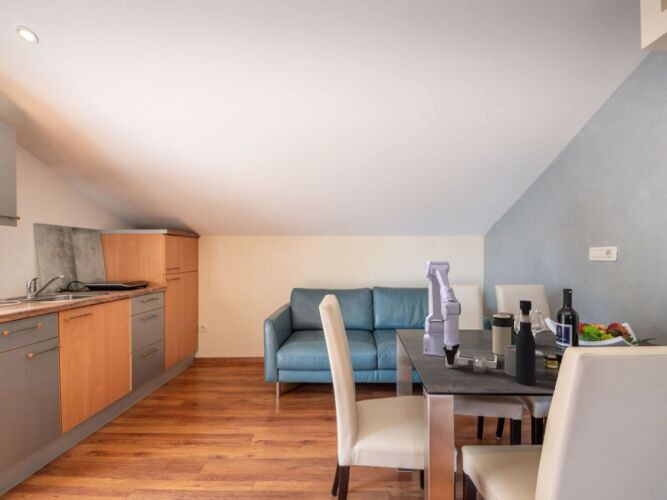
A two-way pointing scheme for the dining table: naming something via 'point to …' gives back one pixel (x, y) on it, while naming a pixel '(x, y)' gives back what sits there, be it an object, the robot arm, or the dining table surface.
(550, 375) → the dining table surface
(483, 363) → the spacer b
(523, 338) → the black water bottle
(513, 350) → the grey upright block
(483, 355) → the cream u-shaped bracket
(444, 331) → the robot arm
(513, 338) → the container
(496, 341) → the travel mug
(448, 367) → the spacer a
